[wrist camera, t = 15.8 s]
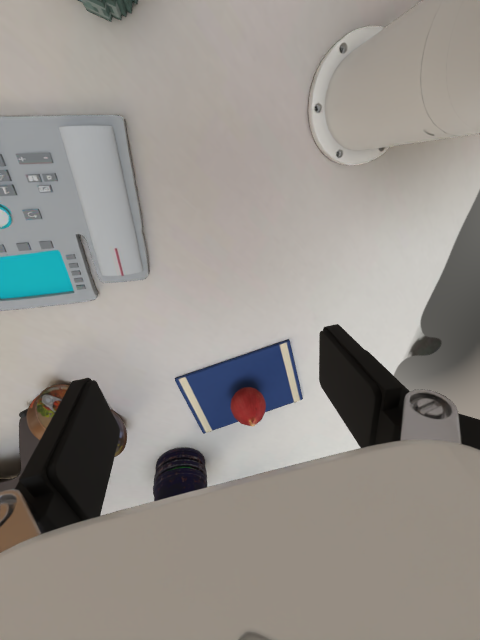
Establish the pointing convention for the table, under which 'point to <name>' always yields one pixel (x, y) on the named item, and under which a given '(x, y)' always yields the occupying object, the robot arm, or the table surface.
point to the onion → (248, 406)
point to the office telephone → (66, 209)
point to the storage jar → (179, 473)
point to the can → (109, 7)
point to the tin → (47, 406)
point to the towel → (241, 384)
